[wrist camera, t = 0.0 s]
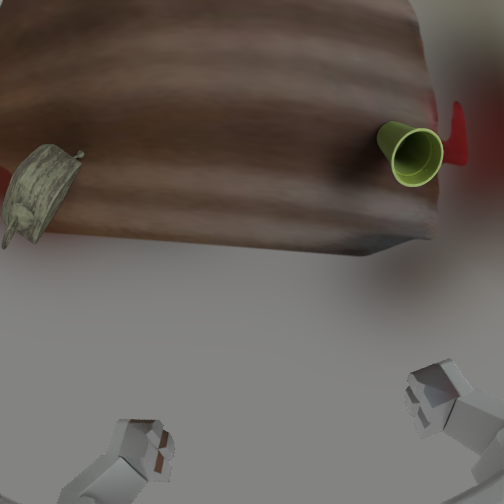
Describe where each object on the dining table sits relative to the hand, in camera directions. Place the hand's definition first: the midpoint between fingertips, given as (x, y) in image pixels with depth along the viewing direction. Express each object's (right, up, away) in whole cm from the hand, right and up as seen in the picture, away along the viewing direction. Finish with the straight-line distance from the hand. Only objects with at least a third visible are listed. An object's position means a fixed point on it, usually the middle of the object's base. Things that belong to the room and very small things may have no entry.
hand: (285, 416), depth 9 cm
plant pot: (+28, +29, +47) cm, 62 cm away
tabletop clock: (-40, +23, +45) cm, 65 cm away
